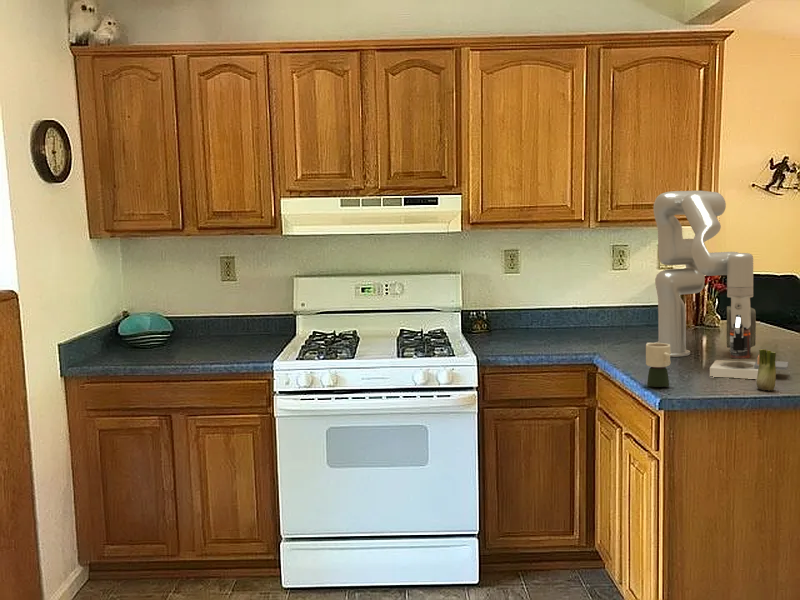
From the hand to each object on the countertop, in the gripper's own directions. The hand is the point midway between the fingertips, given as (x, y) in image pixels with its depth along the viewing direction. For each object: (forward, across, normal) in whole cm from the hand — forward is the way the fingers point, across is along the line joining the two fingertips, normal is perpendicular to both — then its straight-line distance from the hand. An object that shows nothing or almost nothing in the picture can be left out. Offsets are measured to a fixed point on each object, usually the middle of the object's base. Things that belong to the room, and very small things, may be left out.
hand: (740, 348), depth 238 cm
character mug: (+9, -26, +20) cm, 34 cm away
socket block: (+9, 0, 0) cm, 9 cm away
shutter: (+5, 0, -9) cm, 10 cm away
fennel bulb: (+9, -20, -9) cm, 23 cm away
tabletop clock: (+9, +33, +3) cm, 34 cm away
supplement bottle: (+3, 0, 0) cm, 3 cm away
